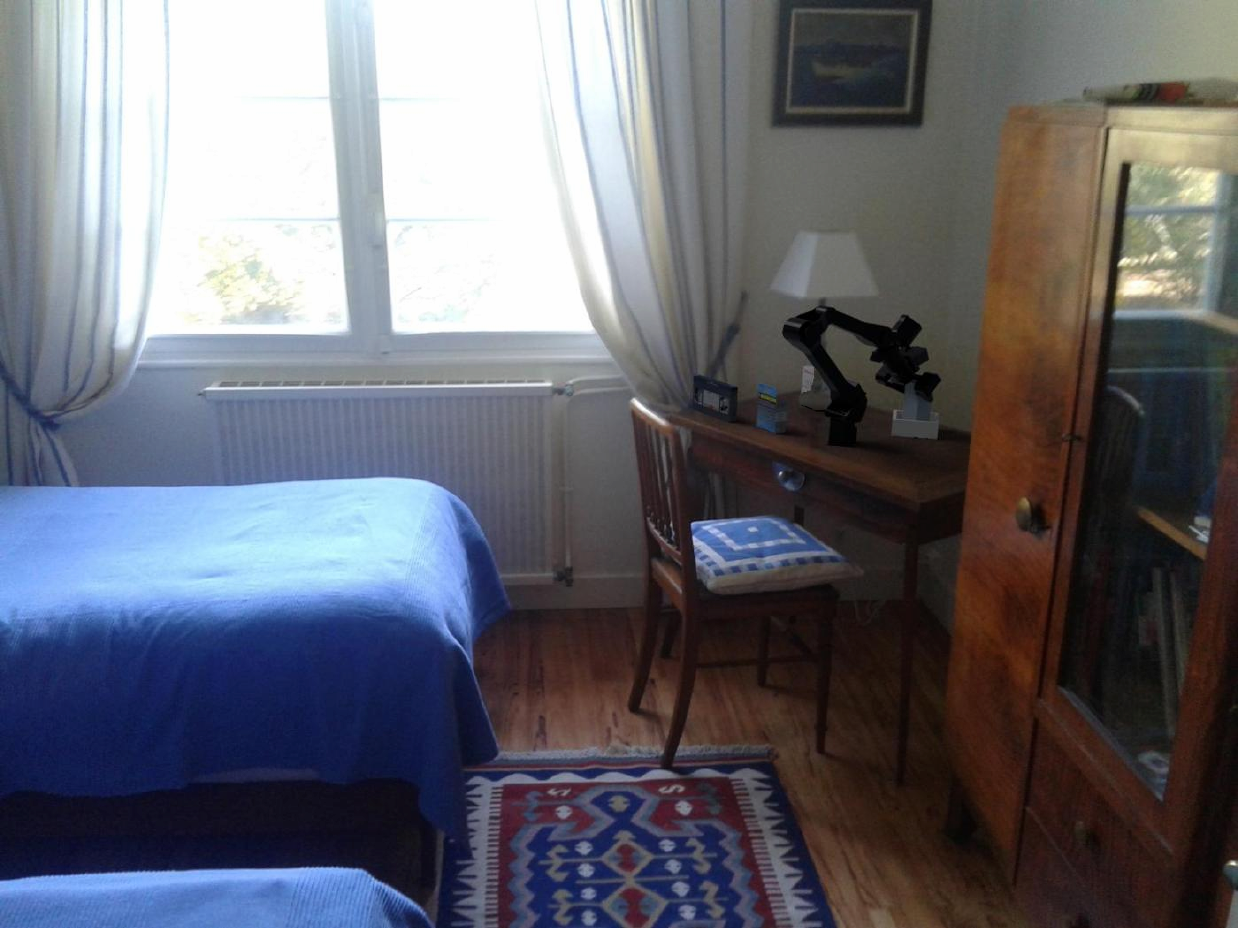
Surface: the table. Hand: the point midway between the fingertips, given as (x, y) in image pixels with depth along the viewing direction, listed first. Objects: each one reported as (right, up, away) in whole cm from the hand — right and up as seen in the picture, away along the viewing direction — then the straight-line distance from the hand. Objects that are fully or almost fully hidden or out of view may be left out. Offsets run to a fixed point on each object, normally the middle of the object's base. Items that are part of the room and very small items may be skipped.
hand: (921, 398), depth 283 cm
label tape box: (-40, -8, +2) cm, 41 cm away
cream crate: (-1, -9, +2) cm, 9 cm away
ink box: (-23, -1, +27) cm, 36 cm away
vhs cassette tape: (-54, -4, +16) cm, 56 cm away
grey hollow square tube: (-1, -8, +2) cm, 8 cm away
